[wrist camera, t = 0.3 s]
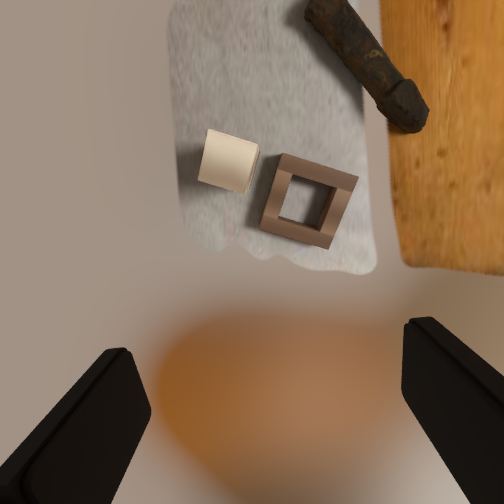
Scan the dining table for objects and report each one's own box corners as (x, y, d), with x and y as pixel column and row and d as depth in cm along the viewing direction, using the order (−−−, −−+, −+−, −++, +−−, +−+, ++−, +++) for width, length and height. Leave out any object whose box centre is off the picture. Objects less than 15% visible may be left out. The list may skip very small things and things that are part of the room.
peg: (227, 143, 32) (208, 127, 21) (260, 153, 33) (258, 143, 21) (219, 177, 34) (196, 180, 23) (250, 187, 34) (244, 195, 23)
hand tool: (299, 21, 28) (305, -6, 24) (326, -10, 27) (338, -44, 23) (390, 149, 32) (410, 146, 28) (417, 126, 31) (442, 119, 27)
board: (281, 154, 33) (282, 152, 30) (350, 176, 33) (359, 177, 30) (259, 224, 36) (258, 228, 33) (323, 243, 36) (328, 249, 33)
